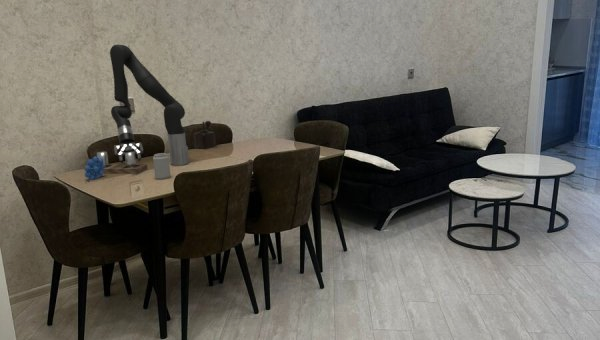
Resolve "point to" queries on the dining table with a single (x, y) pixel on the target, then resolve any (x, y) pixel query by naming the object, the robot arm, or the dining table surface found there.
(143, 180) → the dining table surface
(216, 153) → the dining table surface
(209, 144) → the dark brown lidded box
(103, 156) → the billet
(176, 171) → the dining table surface
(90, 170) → the grapes
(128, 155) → the billet
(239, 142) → the dining table surface
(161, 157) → the can
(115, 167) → the brown wooden tray
